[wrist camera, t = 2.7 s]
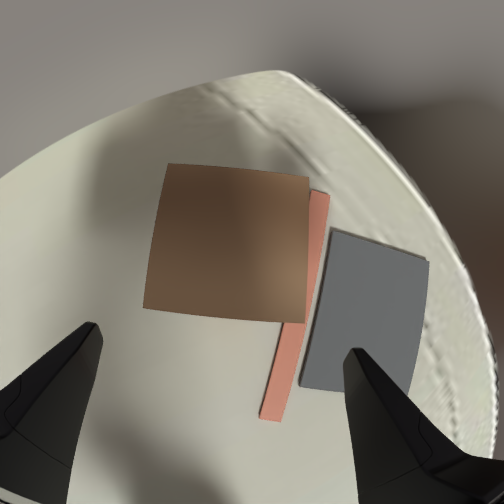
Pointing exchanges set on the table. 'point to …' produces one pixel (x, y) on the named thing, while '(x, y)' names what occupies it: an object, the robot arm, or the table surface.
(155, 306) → the walnut block
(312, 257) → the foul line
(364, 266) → the mat
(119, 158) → the table surface
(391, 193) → the table surface
